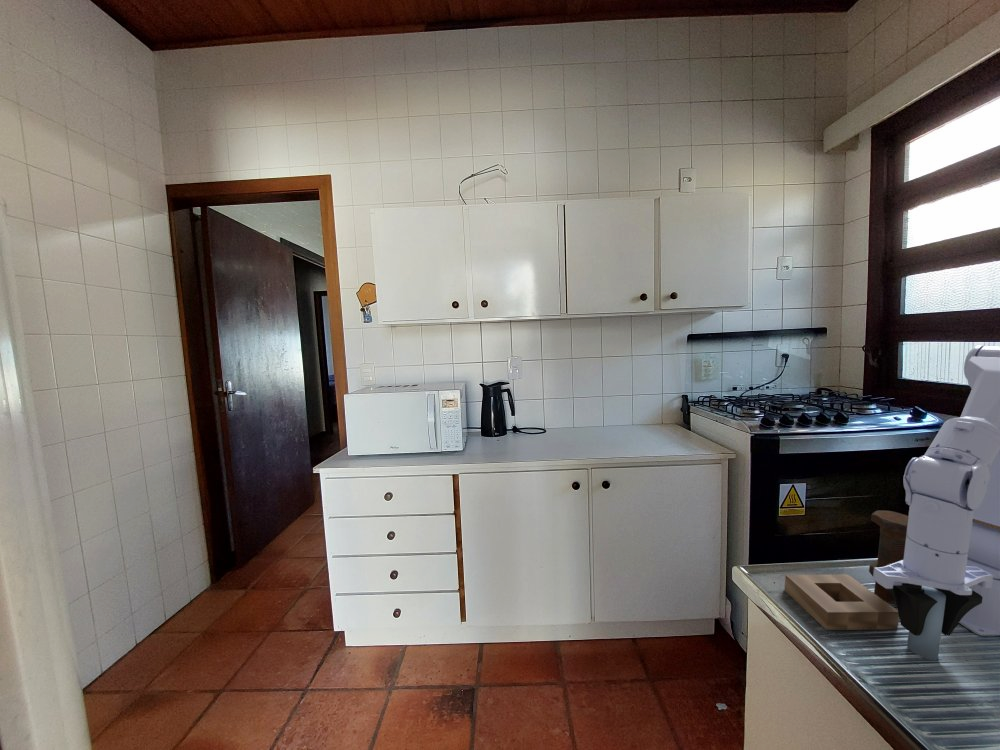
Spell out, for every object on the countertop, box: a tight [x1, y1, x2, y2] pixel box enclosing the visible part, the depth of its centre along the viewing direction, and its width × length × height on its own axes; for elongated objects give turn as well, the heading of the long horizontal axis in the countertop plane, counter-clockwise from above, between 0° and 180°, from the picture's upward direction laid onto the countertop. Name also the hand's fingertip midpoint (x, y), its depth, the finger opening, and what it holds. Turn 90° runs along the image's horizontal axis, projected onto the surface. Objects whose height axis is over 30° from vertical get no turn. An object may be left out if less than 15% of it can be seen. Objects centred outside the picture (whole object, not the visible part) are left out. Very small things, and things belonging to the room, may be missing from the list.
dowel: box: [906, 586, 946, 661], centre depth 54 cm, size 3×3×10 cm
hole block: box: [783, 573, 900, 631], centre depth 63 cm, size 11×9×3 cm
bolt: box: [868, 509, 909, 604], centre depth 65 cm, size 6×5×15 cm
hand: (924, 630), depth 54 cm, fingers open, 4 cm apart
